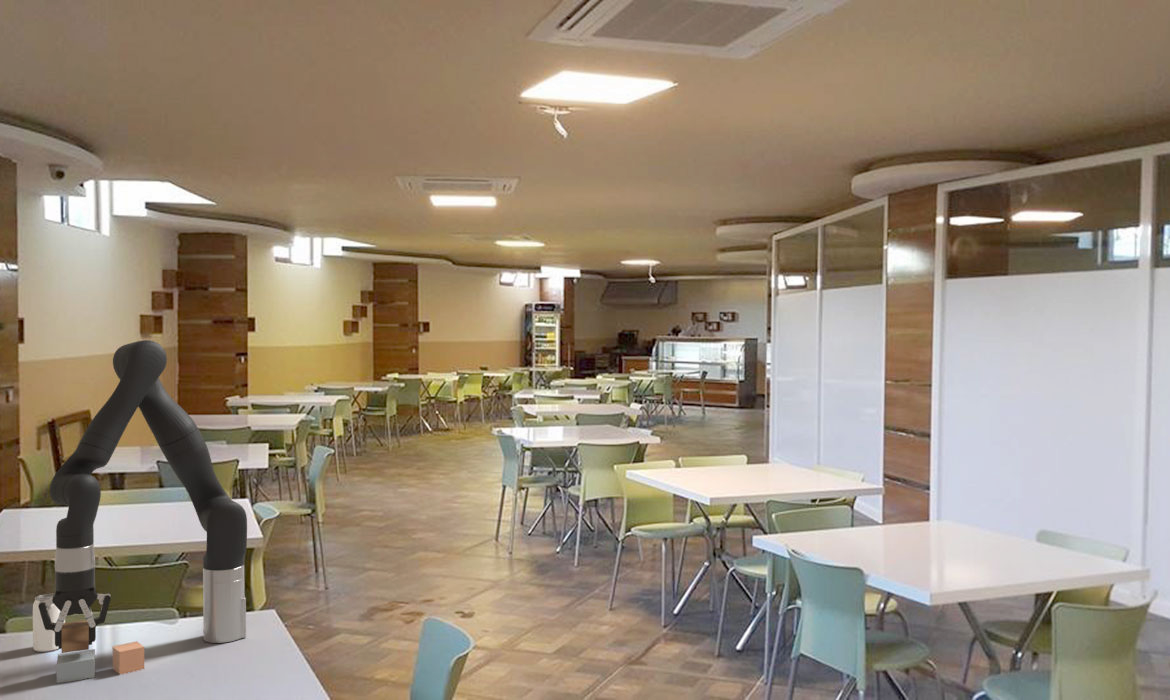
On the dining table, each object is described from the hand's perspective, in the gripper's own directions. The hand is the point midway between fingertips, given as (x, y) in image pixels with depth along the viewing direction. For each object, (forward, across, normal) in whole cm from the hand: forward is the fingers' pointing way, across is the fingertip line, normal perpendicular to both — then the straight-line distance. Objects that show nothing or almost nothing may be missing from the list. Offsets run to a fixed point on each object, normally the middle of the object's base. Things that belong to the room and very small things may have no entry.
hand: (75, 645), depth 199 cm
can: (+7, +6, -23) cm, 25 cm away
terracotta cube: (+6, -10, +1) cm, 12 cm away
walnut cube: (0, 0, 0) cm, 0 cm away
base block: (+6, 0, 0) cm, 6 cm away
